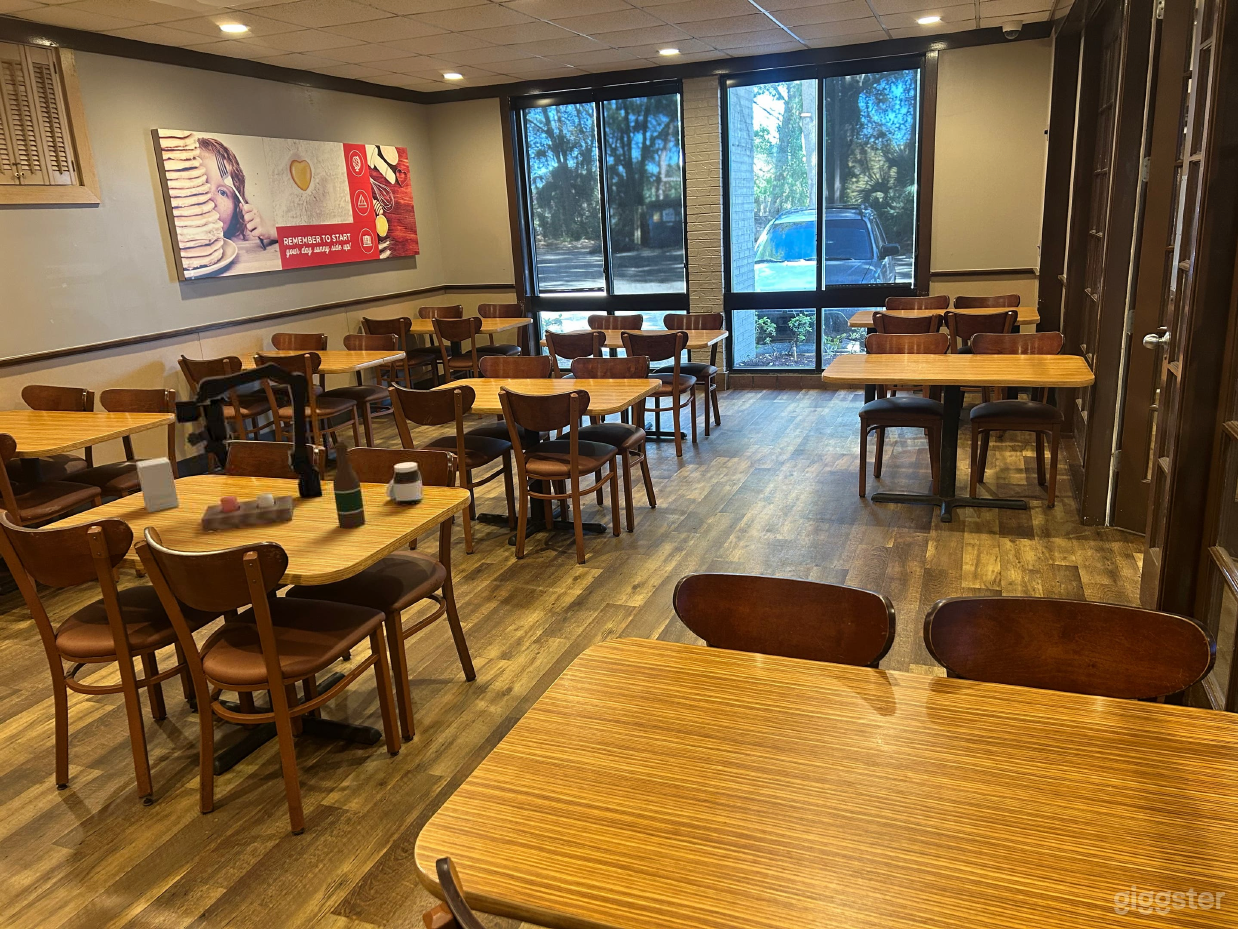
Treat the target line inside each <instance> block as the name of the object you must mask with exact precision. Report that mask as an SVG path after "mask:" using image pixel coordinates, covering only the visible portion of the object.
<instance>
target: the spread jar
mask: <svg viewBox="0 0 1238 929" xmlns="http://www.w3.org/2000/svg"><path fill="white" fill-rule="evenodd" d="M393 469H394V475H393V478H392V479H391V480H390V482H389V483H388V485H387V487H386V489H385V490H386V491H385V495H386V496H387V498H389V499H391V500H395V501H396V503H397V504H399V505H402V504H411V505H414V504H413V503H416V504H418V502H419V503H421V501H422V500H423V496H424V495H423V494H424V491H423V484H422V483H423V482H422V481H423V480H422V476H421V472H420V471H419V469H418V463H416V462H414V461H413V462H412V461H408V462H401V463H397V464H395V465H394V466H393ZM395 498H396V499H395Z"/></svg>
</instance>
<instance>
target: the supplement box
mask: <svg viewBox="0 0 1238 929" xmlns="http://www.w3.org/2000/svg"><path fill="white" fill-rule="evenodd" d="M135 464H136V470H137V474H138V479H139V483H140V487H141V488H140V489H141V493H142V498H143V503H144V507H145V509H146V510H147V512H148V513H153V512H158V511H163V510H167V509H173V508H177V507H180V502H179V498H178V493H177V488H176V483H175V478H174V474H173V470H172V469H173V467H172V464H171V461H170V460H169V459H168V458H167V457H166V456H165V457H159V458H153V459H147V460H141V461H136V462H135Z"/></svg>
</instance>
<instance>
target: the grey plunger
mask: <svg viewBox="0 0 1238 929" xmlns="http://www.w3.org/2000/svg"><path fill="white" fill-rule="evenodd" d="M273 494H274V493H273ZM273 494H272V493H262V494H259V495H257V496H256V498H257V499H256V500H257V501H258V507H259V508H263V507H270V506H274V500H273V498H274V495H273Z"/></svg>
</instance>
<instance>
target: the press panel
mask: <svg viewBox="0 0 1238 929" xmlns="http://www.w3.org/2000/svg"><path fill="white" fill-rule="evenodd" d="M273 500H274V506H270V507H263V508H259V507H258V501H257V499H253V500H245V501H237V504H238V509H239V511H233V512H225V513H223V512H222V507H221V504H214V505H208V506H207V508H206V509H205V511H204V513H203V516H202V517H201V519H200V520H201V525H202V532H203V533H204V532H207V533H210V532H209V531H214V532H219V531H218V530H221V531H226V529H229V530H234V529H233V528H236V529H241V528H242V527H243V528H248V527H249V526H250V527H256V526H255V525H258V526H263V525H264V526H265V525H270V524H278V522H279V523H285V522H284V521H287V522H291V521H293V516H294V511H293V510H294V509H295V507H294V506H295V505H294V499H293V495H292V494H291V495H284V496H275V497H274V496H273ZM250 527H249V528H250Z"/></svg>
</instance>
